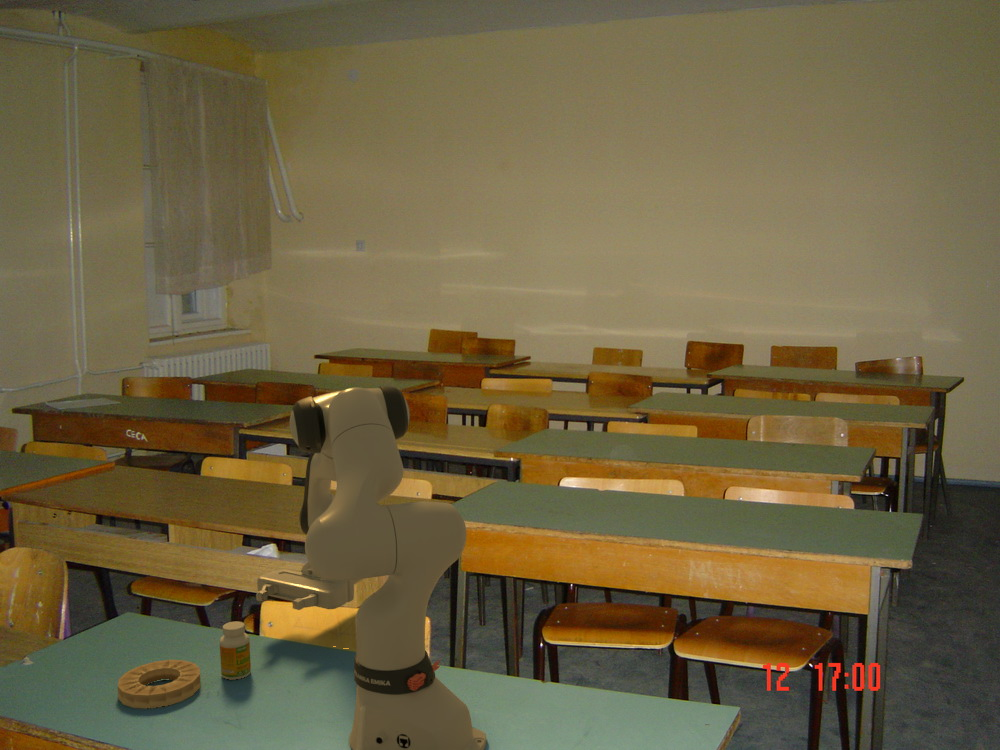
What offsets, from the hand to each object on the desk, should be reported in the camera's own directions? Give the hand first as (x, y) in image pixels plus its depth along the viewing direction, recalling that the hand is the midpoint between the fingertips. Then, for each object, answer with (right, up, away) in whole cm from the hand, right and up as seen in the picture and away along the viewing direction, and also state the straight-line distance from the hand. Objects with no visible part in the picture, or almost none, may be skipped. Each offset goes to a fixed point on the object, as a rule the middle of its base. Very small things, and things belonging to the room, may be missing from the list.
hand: (276, 601), depth 185 cm
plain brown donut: (-18, -12, -16) cm, 26 cm away
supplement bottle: (-5, -12, -10) cm, 16 cm away
